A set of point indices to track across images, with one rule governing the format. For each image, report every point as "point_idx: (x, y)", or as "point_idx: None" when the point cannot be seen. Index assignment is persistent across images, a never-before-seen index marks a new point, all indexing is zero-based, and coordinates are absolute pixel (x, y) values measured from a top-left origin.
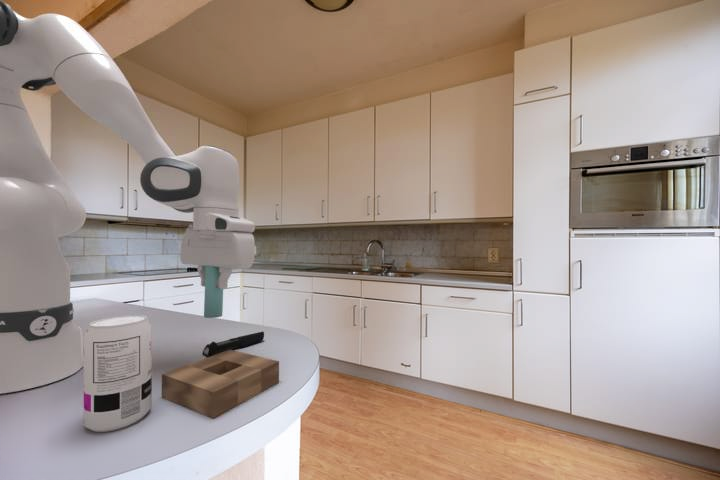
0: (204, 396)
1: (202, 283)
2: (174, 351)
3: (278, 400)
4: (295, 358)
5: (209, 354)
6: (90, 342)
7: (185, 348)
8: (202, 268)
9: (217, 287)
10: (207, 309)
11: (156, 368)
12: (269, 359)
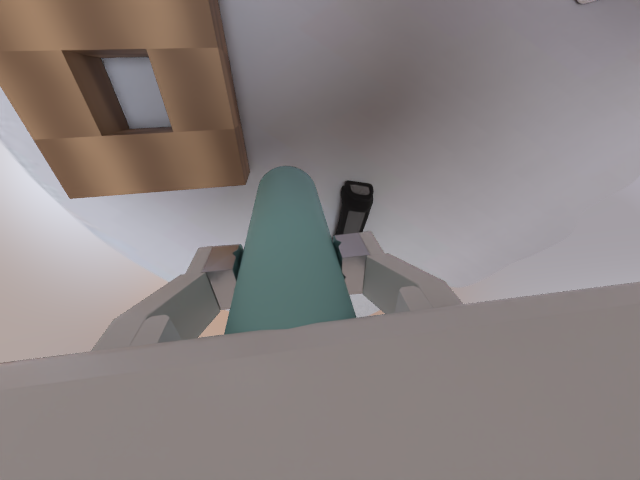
0: None
1: (360, 238)
2: (442, 162)
3: (5, 126)
4: None
5: (345, 186)
6: None
7: (434, 185)
8: (402, 305)
9: (224, 245)
10: (276, 178)
11: (390, 79)
12: (99, 194)
